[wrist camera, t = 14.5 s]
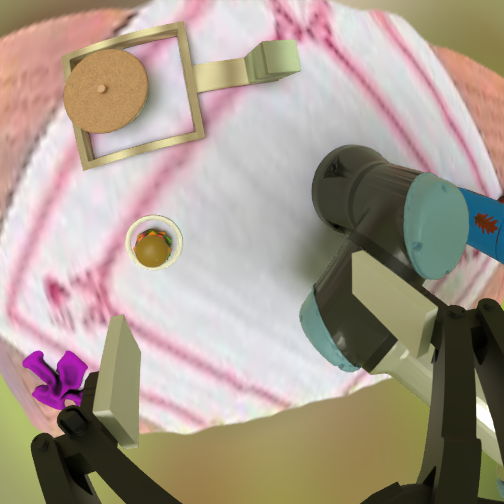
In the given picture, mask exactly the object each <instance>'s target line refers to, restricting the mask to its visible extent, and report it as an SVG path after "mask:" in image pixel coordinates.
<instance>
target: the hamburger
mask: <svg viewBox="0 0 504 504" xmlns="http://www.w3.org/2000/svg"><path fill="white" fill-rule="evenodd" d="M148 220H159V221H162V222H165V223H166V224H168V225H169V226H170V227H171V228H172V229H173V230H174V232H175V234H176V237H177V249H176V251H175V253H174V255H173V256H172V257H171V258H170V259H169V260H168V258H169V256H170V253H171V251H172V250H171V249H170V242H171V239H170V238H168V237H167V236H166V235H165V232H161V231H159V230H154V229H151V230H147V231H145V232H143V233H142V234H141V235H138V236H137V242H136V245H135V247H134V248H133V249H134V252H135V254H136V256H135V254H134V253H133V251H132V248H131V236H132V233H133V231H134V230H135V228H136V227H137V226H138V225H140V224H141V223H143V222H145V221H148ZM125 245H126V250H127V253H128V255H129V257H130V258H131V260H132V261H133V262H134V263H135V264H137V265H138V266H140V267H142V268H144V269H147V270H161V269H165V268H167V267H169V266H170V265H172V264H173V263H174V262H175V261H176V260H177V259H178V257H179V256H180V254H181V251H182V246H183V240H182V235H181V233H180V231H179V229H178V227H177V226H176V225H175V224H174V223H173V222H172V221H171V220H169V219H167V218H165V217H162V216H157V215H149V216H145V217H142V218H140V219H138V220H137V221H136V222H134V223H133V224H132V225H131V227H130V228H129V230H128V232H127V235H126V240H125ZM166 260H168V261H166Z"/></svg>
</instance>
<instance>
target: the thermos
mask: <svg viewBox="0 0 504 504" xmlns="http://www.w3.org/2000/svg"><path fill="white" fill-rule="evenodd" d="M457 188H458V189H459V190H460V191H461V193H462V195H463V196H464V198H465V201H466V204H467V207H468V213H469V233H468V239H467V244H468V245H470V246H472V247H474V248H476V249H478V250H479V251H481V252H483V253H485V254H487V255H488V256H490V257H492V258H494V259H495V260H497V261H499V262H501V263H502V264H504V203H502V202H499V201H497V200H494V199H492V198H489V197H486V196H484V195H481V194H478V193H476V192H473V191H470V190H466V189H462V188H459V187H457Z"/></svg>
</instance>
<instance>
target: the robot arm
mask: <svg viewBox="0 0 504 504" xmlns="http://www.w3.org/2000/svg"><path fill="white" fill-rule="evenodd" d="M312 199H313V204H314V207H315V210H316V212H317V214H318V215H319V217H320V218H321V220H322V221H323V222H324V223H325V224H327V225H328V226H330V227H331V228H333V229H334V230H336V231H338V232H340V233H343V234H349V237H348V238H347V240H346V241H345V243H344V244H343V246H342V247H341V249H340V250H339V252H338V253H337V255H336V256H335V257H334V259H333V260H332V262H331V263H330V265H329V266H328V268H327V269H326V271H325V272H324V273H323V275H322V276H321V278H320V279H319V281H318V282H317V283H315V284H314V285H313V287H312V290H311V292H310V294H309V295H308V297H307V298H306V300H305V301H304V303H303V305H302V306H301V309H300V313H299V317H300V322H301V325H302V329H303V331H304V333H305V334H306V336H307V338H308V339H309V341H310V342H311V343H312V345H313V346H314V347H315V348H316V350H317V351H318V352H319V353H320V354H321V355H322V356H323V357H324V358H325V359H326V360H328V361H329V362H330V363H331V364H333V365H334V366H338V367H339V368H340V369H341V370H343V371H345V372H354V371H356V370H359V369H360V368H361V367H362V368H363V369H364V370H365V371H367V372H368V373H369V374H371V375H375V374H383V373H386V374H389V375H390V376H392V377H393V378H394V379H395V380H397V381H398V382H399V383H400V384H401V385H403V386H404V387H405V388H407V389H408V390H409V391H410V392H411V393H413V394H414V395H415V396H416V397H417V398H419V399H420V400H421V401H422V402H423V403H425V404H426V405H427V406H428V407H430V415H429V424H428V432H427V438H426V445H425V451H424V457H423V463H422V467H421V471H420V474H419V476H418V479H417V482H416V484H407V485H402V486H400V485H399V483H398V482H395V483H393V484H392V485H390V486H388V487H386V488H384V489H382V490H380V491H378V492H376V493H374V494H372V495H371V496H370V497H368V498H367V499H366V500H364V501H363V502H362V503H360V504H504V502H502V501H496V500H490V499H485V498H480V497H477V495H478V487H479V479H480V467H481V452H482V450H483V451H484V452H485V453H486V454H488V455H489V456H490V457H491V458H492V459H494V460H495V461H496V462H497V463H498V464H497V476H498V480H497V487H498V490H499V492H500V494H501V496H502V497H503V498H504V311H503V309H502V308H501V306H500V305H499V303H498V302H496V301H495V300H493V299H489V298H484V299H481V300H480V301H479V302H478V306H477V308H476V309H471V310H467V311H466V310H465V309H464V308H463V307H461V306H457V305H450V306H447V305H446V304H445V303H443V302H442V301H441V300H440V299H438V298H437V297H436V296H434V295H433V294H431V293H430V292H429V291H428V290H426V289H425V288H424V287H422V284H423V283H424V281H425V280H426V279H429V280H437V279H441V278H443V277H444V276H445V274H446V273H447V274H449V273H450V272H451V271H452V270H453V269H454V268H455V266H456V265H457V264H458V262H459V260H460V258H461V256H462V254H463V252H464V249H465V247H466V243H467V239H468V233H469V213H468V207H467V204H466V201H465V198H464V196H463V195H462V193H461V191H460V190H459V189H458V188H457V187H456V186H455V185H454V184H452V183H451V182H449V181H447V180H444V179H442V178H439V177H438V176H436V175H435V174H432V173H429V172H426V173H425V172H421V171H418V170H414V169H410V168H406V167H402V166H398V165H394V164H390V163H389V162H388V161H387V160H386V159H384V158H383V157H382V156H381V155H380V154H379V153H378V152H376V151H375V150H373V149H371V148H368V147H364V146H359V145H346V146H342V147H339V148H337V149H335V150H333V151H332V152H331V153H329V154H328V155H327V156H326V157H325V158H324V159H323V161H322V162H321V163H320V165H319V167H318V169H317V171H316V173H315V176H314V179H313V184H312ZM352 241H353V242H352ZM355 243H356V244H355ZM359 246H360V247H359ZM362 248H363V249H362ZM365 250H366V251H367V252H366V251H365ZM369 253H370V254H369ZM373 256H374V257H373ZM376 258H377V259H376ZM380 261H381V262H380ZM384 264H385V265H384ZM140 363H141V351H140V349H139V347H138V345H137V343H136V341H135V339H134V337H133V334H132V332H131V330H130V328H129V326H128V323H127V321H126V319H125V317H124V314H123V315H119V316H115V317H111V319H110V323H109V327H108V332H107V336H106V341H105V345H104V350H103V355H102V360H101V365H100V370H99V371H98V372H92V373H90V374H89V376H88V377H87V379H86V380H85V384H84V388H83V389H84V390H83V393H82V398H81V403H80V407H79V406H77V405H71V406H67V407H66V408H64V409H63V410H62V411H61V412H60V413H59V415H58V417H57V424H58V426H59V427H60V428H61V430H62V431H63V432H64V433H65V434H64V435H61V436H59V437H56V438H53V437H52V436H51V435H50V434H48V433H41V434H39V435H37V436H36V437H35V438H34V439H33V441H32V443H31V452H32V457H33V460H34V464H35V468H36V472H37V476H38V479H39V482H40V486H41V489H42V492H43V495H44V498H45V501H46V504H102V503H101V502H100V500H99V498H98V496H97V494H96V492H95V490H94V487H93V486H92V483H91V481H90V479H89V477H88V475H87V474H89V473H91V472H94V471H96V472H97V473H98V474H99V475H100V476H101V478H102V479H103V480H104V481H105V482H106V483H107V484H108V485H109V486H110V488H111V489H112V490H114V492H115V493H116V494H117V495H118V496H119V497H120V498H121V499H122V500H123V501H124V502H125V503H126V504H182V503H181V502H179V501H178V500H177V499H175V498H174V497H173V496H171V495H170V494H169V493H168V492H166V491H165V490H164V489H163V488H161V487H160V486H159V485H158V484H157V483H155V482H154V481H153V480H152V479H151V478H150V477H148V476H147V475H146V474H145V473H144V472H143V471H142V470H140V469H139V468H138V467H137V466H136V465H135V464H134V463H133V462H131V460H130V459H129V458H127V457H126V456H125V455H124V454H123V453H122V452H121V451H120V450H119V449H118V448H117V445H118V443H119V445H120V446H121V447H122V448H123V449H127V448H135V447H139V386H140Z"/></svg>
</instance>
